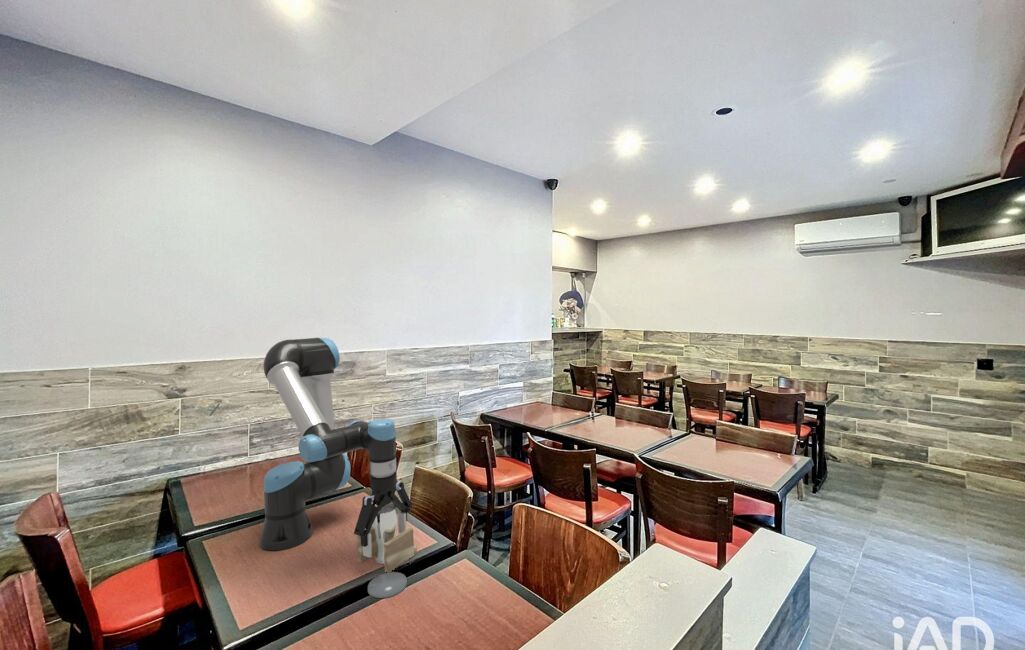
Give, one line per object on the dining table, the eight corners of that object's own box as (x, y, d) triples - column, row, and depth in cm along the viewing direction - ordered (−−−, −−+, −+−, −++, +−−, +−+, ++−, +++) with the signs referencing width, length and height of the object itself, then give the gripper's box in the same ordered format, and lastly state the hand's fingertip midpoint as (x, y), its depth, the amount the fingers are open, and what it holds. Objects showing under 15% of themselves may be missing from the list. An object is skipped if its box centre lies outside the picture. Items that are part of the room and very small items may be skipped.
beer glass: (391, 566, 122) (389, 514, 121) (369, 564, 123) (367, 513, 123) (402, 552, 129) (400, 503, 128) (381, 550, 130) (379, 502, 130)
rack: (358, 561, 125) (357, 534, 124) (387, 542, 134) (386, 518, 134) (388, 573, 118) (387, 545, 118) (416, 553, 128) (415, 527, 128)
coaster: (359, 590, 111) (359, 588, 111) (388, 570, 120) (388, 568, 120) (386, 603, 106) (386, 600, 106) (414, 580, 115) (414, 578, 115)
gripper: (357, 491, 112) (360, 570, 113) (422, 461, 134) (424, 528, 135) (338, 486, 116) (341, 562, 117) (404, 458, 138) (406, 522, 138)
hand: (385, 544), depth 126 cm, fingers open, 13 cm apart
